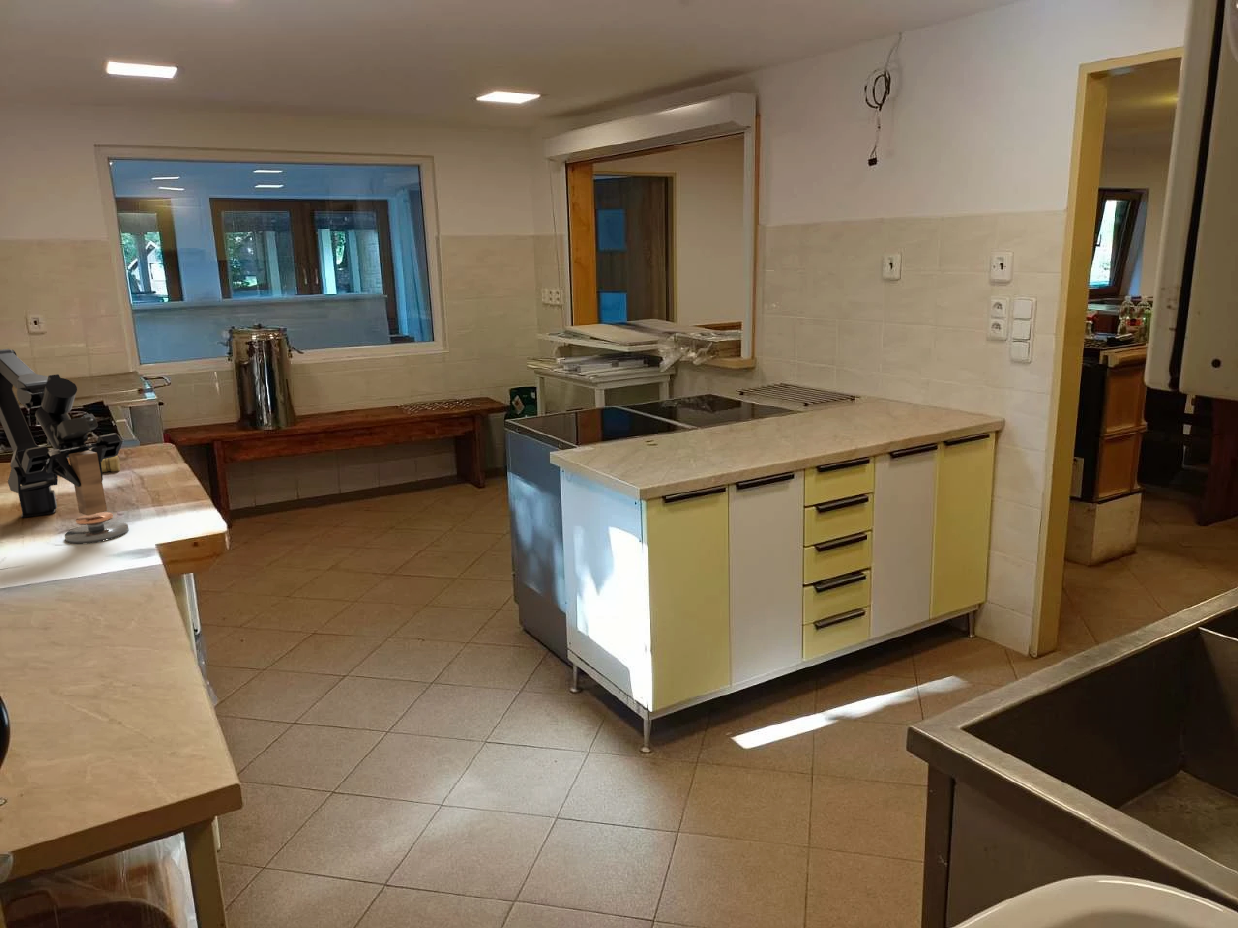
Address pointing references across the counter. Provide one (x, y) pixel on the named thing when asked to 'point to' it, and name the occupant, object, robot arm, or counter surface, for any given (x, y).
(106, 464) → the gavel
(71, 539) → the copper topped disc
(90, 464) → the walnut stick
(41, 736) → the counter surface
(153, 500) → the counter surface
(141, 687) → the counter surface
